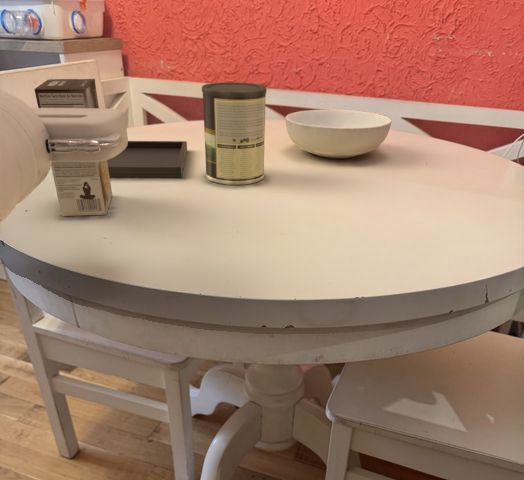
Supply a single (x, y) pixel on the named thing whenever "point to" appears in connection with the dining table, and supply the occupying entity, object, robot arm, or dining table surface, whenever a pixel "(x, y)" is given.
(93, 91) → the coffee box
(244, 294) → the dining table surface
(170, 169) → the tray
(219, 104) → the coffee can
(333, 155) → the serving bowl
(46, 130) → the robot arm
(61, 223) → the dining table surface
